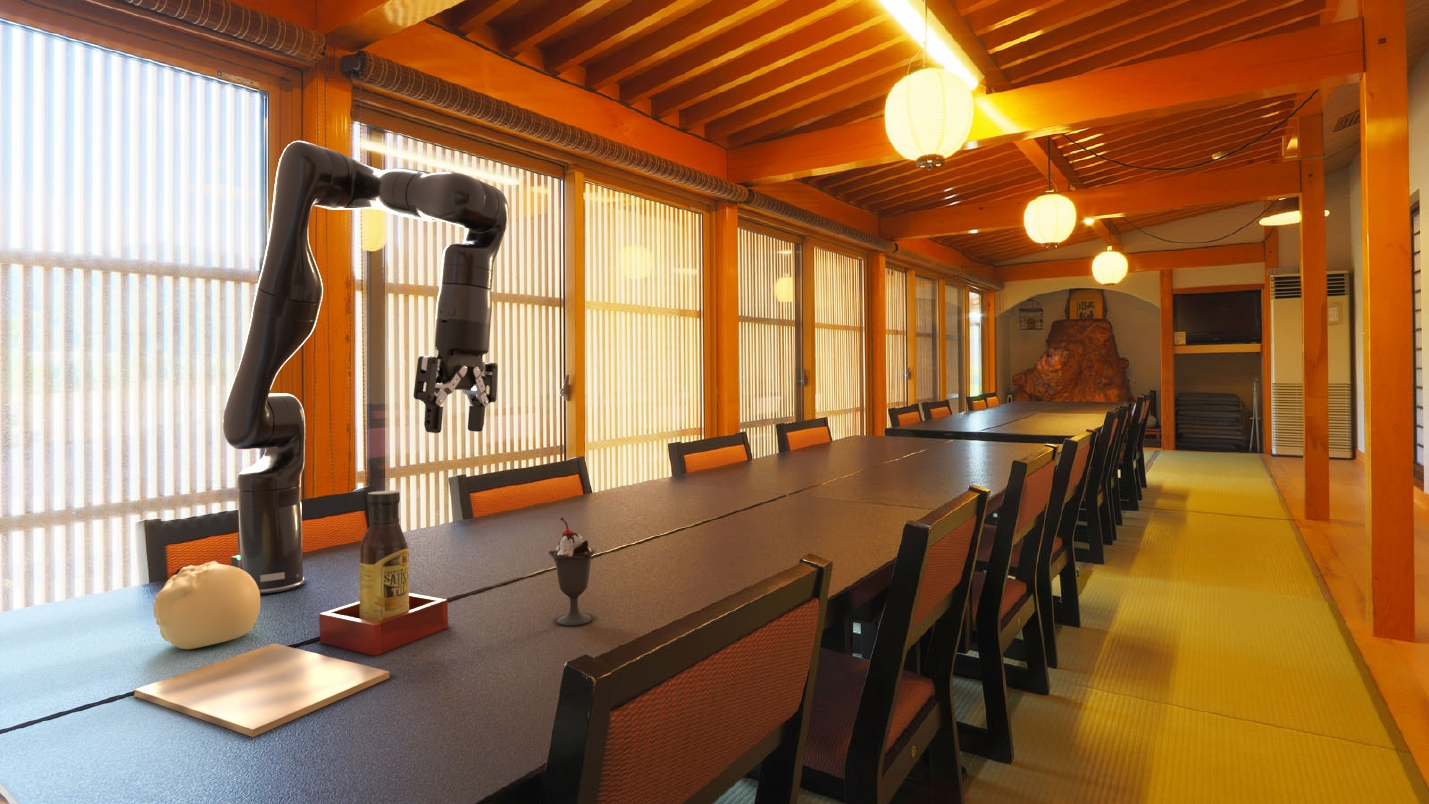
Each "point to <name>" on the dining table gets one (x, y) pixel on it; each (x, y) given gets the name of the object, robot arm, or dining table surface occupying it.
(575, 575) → the sundae
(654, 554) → the dining table surface
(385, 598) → the sauce bottle
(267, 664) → the mat
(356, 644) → the holder
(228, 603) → the tan rounded lump
